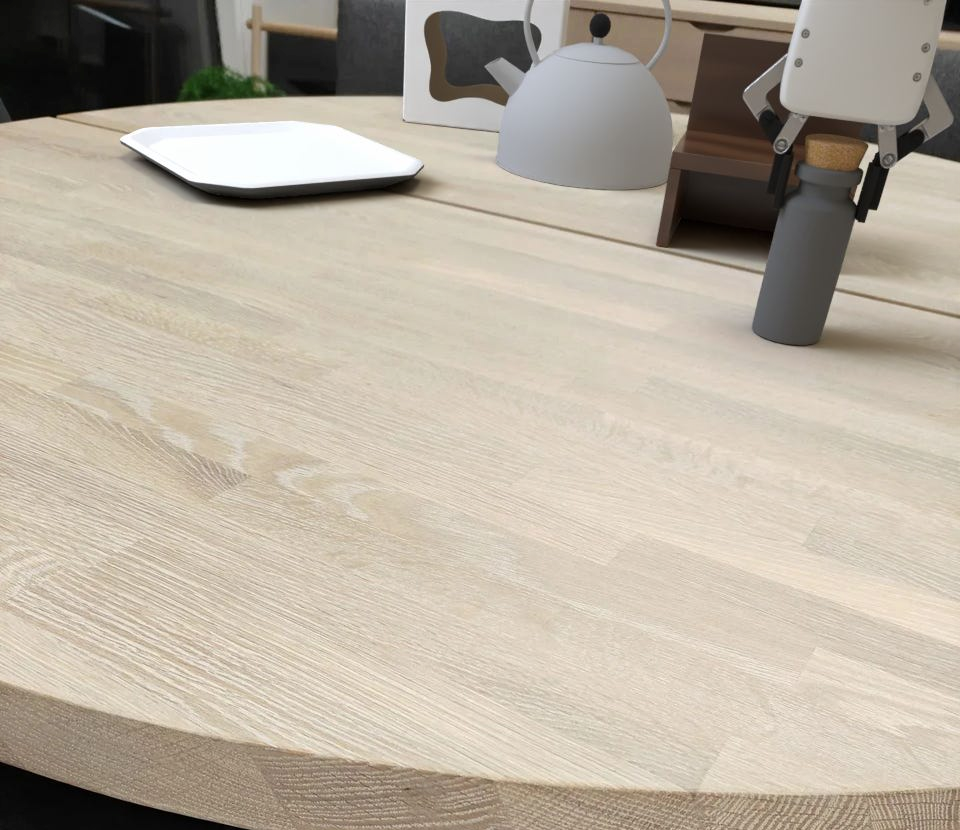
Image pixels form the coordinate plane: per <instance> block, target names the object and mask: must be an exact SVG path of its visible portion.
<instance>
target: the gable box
mask: <svg viewBox="0 0 960 830" xmlns="http://www.w3.org/2000/svg"><path fill="white" fill-rule="evenodd" d="M526 3H527V0H405V19H404V20H405V21H404V22H405V24H404V53H403V55H404V57H403V63H404V64H403V91H402V93H403V96H402V97H403V98H402V99H403V100H402V121H403V122H404V123H411V124H420V125H429V126H437V127H447V128H457V129H465V130H475V131H484V132H493V133H499V132H500V126H501V121H502V117H503V114H504V110H505V107H506V105H507V102H508V99H509V97H510V96H509V94H508V93H507V92H506V91H505V90H504V89H503V87H502V86H501V85H496V84H492V83H491V84H490V83H481V84H480V83H479V84H473V85H466V86H455V85H452V84H450V83H449V82H448V81H447V79H446V68H447V63H448V47H447V43H446V40H445V36H444V33H443V29H442V24H441V14H442V12H457V13H462V14H465V15H469V16H473V17H476V18H479V19H483V20H487V21H491V22H507V21H509V22H511V21H521V22H524V12H525V7H526ZM570 8H571V0H534V2H533V5H532V10H531V16H530V24H532V25H534V26H535V27H537V28H538V30H539V32H540V34H541V40H540V44H539V47H538V49H537V51H536V52H537V54H538V57H539V60H540V61H541V60H542V59H543V58H545V57H547V56H548V55H550V54H552V53H554V51H556V50H558V49H560V48H562V47H565V46H566V43H567V34H568V25H569V17H570ZM533 66H534V63H533V62H532V63H531V65H530V68H529V70H530V69H531V68H532V67H533Z"/></svg>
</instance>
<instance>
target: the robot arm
mask: <svg viewBox="0 0 960 830" xmlns="http://www.w3.org/2000/svg"><path fill="white" fill-rule="evenodd" d="M946 5H947V0H801V3H800V6H799V10H798V13H797V17H796V20H795V24H794V28H793V32H792V35H791V38H790V41H789V42H790V45H789V49H788V53H787V54H785V55H784V56H783V57H782V58H781V59H779V60H778V61H777V62H776V63H775V64H774V65H772V66H771V67H770V68H769V69H768V70H766V71H765V72H764V73H763V74H762V75H761V76H759V77H758V78H757V79H756V80H755V81H754V82H752V83H751V84H750V85H749V86H748V87H747V88H746V89H745V90H744V93H743V99H744V101H745V102H746V104H747V106H748V107H749V109H750V110H751V112H752V113H753V115H754V116H755V117H756V119H757V120H758V122H759V124H760V126H761V128H762V129H763V131H764V133H765V134H766V136H767V137H768V139H769V141H770V142H771V144H772V146H773V148H774V150H775V152H776V153H775V157H774V161H773V166H772V170H771V174H770V178H769V183H768V187H767V191H766V195H771V196H774V200H773V204H772V210H778V209H781V207H782V203H783V199H784V195H785V191H786V187H787V183H788V179H789V175H790V170H791V166H792V162H793V158H794V151H792V150H793V146H794V142H793V141H794V139H795V138H796V136H797V135H798V133H799V131H800V130H801V128H802V127H803V125H804V123H805V122H806V120H807V119H808V117H809V115H810V116H817V117H824V118H832V119H839V120H847V121H855V122H863V123H865V124H870V125H876V134H877V152H876V153H874V156H873V159H871V161H869V162H868V165H867V168H866V172H865V175H864V177H863V178H864V179H863V182H862V185H861V188H860V193H859V195H858V196H859V197H858V199H857V202H856V205H857V208H858V209H857V214H856V217H855V221H857V223H860V224H865V223H866V221H867V217H868V215H869V211H875V212H876V211H878V209H879V207H880V202H881V199H882V197H883V193H884V189H885V187H886V182H887V179H888V177H889V173H890V169H891V168H893V167H895V165H896V164H897V163H898V162H899V161H901V160H902V159H903V158H905V157H907V156H908V155H910V154H911V153H912V152H915V150H917V149H919V148H920V147H921V146H922V145H924V143H926V142H927V141H929V140H931V139H933V138H934V137H935V136H937V135H938V134H940V133H941V132H943V131H944V130H946V129H948V128H949V127H951V125H952V124H953V122H954V119H955V117H954V115H953V112H952V110H951V108H950V107H949V105H948V103H947V100H946V98H945V97H944V94H943V92H942V91H941V89H940V87H939V85H938V82H937V81H936V79H935V77H934V74H933V73H932V67H933V64H934V59H935V55H936V51H937V48H938V44H939V39H940V35H941V31H942V26H943V22H944V16H945V10H946ZM779 82H781V86H780V102H781V104H782V105H783V106H784V107H785V108H786V109H788V110H790V111H791V112H790V113H789V115H788V117H787V118H786V120H785V122H784V123H783V124H782V122H781V120H780V119H779V117H778V115H777V114H776V112H775V111H774V109H773V108H772V107H771V105H770V104H769V102H768V100H767V98H766V94H767V93H768V92H769V91H770V90H771V89H772V88H773V87H775V86H776V85H777V84H778V83H779ZM922 102H923V103H924V105H925V107H926V109H927V111H928V113H927V116H926V117H925V118H924V120H922V121H921V122H920V123H918V124H916V125H915V126H912V127H911V128H909V129H908V130H906V131H905V132H904V133H902V134H901V135H899V136H897V126H901V125H905V124H907V123H910V122H912V121H913V120H914V119H915V118H916V116H917V114H918V112H919V110H920V108H921V105H922Z"/></svg>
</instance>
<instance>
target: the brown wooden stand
mask: <svg viewBox="0 0 960 830" xmlns="http://www.w3.org/2000/svg"><path fill="white" fill-rule="evenodd" d="M702 37H703V38H702V43H701V49H700V54H699V60H698V65H697V70H696V75H695V81H694V86H693V92H692V98H691V104H690V109H689V116H688V120H687V125H686V130H685V131H684V133H683V135H682V136H681V138H680V139H679V141H678V142H677V144H676V145H675V147H674V148H673V149H672V157H671V162H670V168H669V174H668V179H667V182H666V186H665V191H664V197H663V202H662V203H663V204H662V209H661V214H660V220H659V226H658V231H657V236H656V241H655V245H656V246H657V247H663V248H668V246H669V244H670V242H671V240H672V238H673V237H674V234H675V232H676V230H677V227H678V226H679V223H680V222H681V219H682V220H689V221H697V222H703V223H709V224H717V225H722V226H731V227H737V228H744V229H750V230H756V231H762V232H769V233H770V232H771V233H774V232H775V228H776V224H777V220H778V216H779V212H780V209H778V210H772V204H773V200H774V196H771V195H766V191H767V187H768V183H769V178H770V174H771V170H772V166H773V161H774V157H775V153H776V152H775V150H774V148H773V146H772V144H771V142H770V141H769V139H768V137H767V136H766V134H765V133H764V131H763V129H762V128H761V126H760V124H759V122H758V120H757V119H756V117H755V116H754V115H753V113H752V112H751V110H750V109H749V107H748V106H747V104H746V102H745V101H744V99H743V93H744V90H745V89H746V88H747V87H748V86H749V85H750V84H751V83H752V82H754V81H755V80H756V79H757V78H758V77H759V76H761V75H762V74H763V73H764V72H765V71H766V70H768V69H769V68H770V67H771V66H772V65H774V64H775V63H776V62H777V61H778V60H779V59H781V58H782V57H783V56H784V55H785V54H787V53H788V49H789V45H790V42H791V41H786V40H785V41H784V40H777V39H768V38H759V37H750V36H743V35H735V34H734V35H733V34H726V33H719V32H717V33H716V32H709V31H705V32H704V33H703V36H702ZM780 86H781V82H779V83H778V84H777V85H776V86H775V87H773V88H772V89H771V90H770V91H769V92H768V93H767V94H766V98H767V100H768V102H769V104H770V105H771V107H772V108H773V109H774V111H775V112H776V114H777V115H778V117H779V119H780V120H781V122H782V124H783V123H784V122H785V120H786V118H787V117H788V115H789V113H790V112H791V111H790V110H788V109H786V108H785V107H784V106H783V105H782V104H781V102H780ZM865 124H866V123H863V122H855V121H847V120H839V119H832V118H824V117H817V116H810V115H809V117H808V119H807V120H806V122H805V123H804V125H803V127H802V128H801V130H800V131H799V133H798V135H797V136H796V138H795V139H794V141H793V142H794V146H793V150H792V151H794V158H793V162H792V166H791V170H790V175H789V179H788V183H787V187H786V191H785V195H786V194H788V193H789V192H791V191H793V190H796V189H797V188H798V186H799V181H800V179H799V178H798V177H796V176H795V175H794V171H795V167H796V163H797V162H798V161H799V160H802V159H804V154H805V138H806V136H808V135H811V134H829V135H838V136H845V137H849V138H854V139H858V140H862V135H863V132H864V129H865ZM858 186H859V185H857V186H853V187H852V188H851V191H850V195H849V197H850V198H851V199H852V200H853V201H855V197H856V194H857V193H856V192H857V189H858ZM785 195H784V196H785Z"/></svg>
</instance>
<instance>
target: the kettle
mask: <svg viewBox="0 0 960 830" xmlns="http://www.w3.org/2000/svg"><path fill="white" fill-rule="evenodd" d="M533 2H534V0H527V3H526V7H525V12H524V21H523V34H524V37H525V42H526V45H527V46H526V47H527V49H528V52H529V55H530V58H531V60H532V63H534V66H533V67H532V68H531V67H530V68H531V69H530V68H529V69H528V70H527V71H526V72H524V71H522V70H521V69H520V68H518V67H517V66H515V65H514V64H512V63H511V62H510V61H508V60H506V59H505V58H504V57H498V58H496V59H494V60H492V61H490V62H488V63H487V64H486V65H484V68H485V69H486V70H487V72H489V74H490V75H491V76H492V77H493V78H494V80H495V81H496V82H497V83H498V85H499V86H501V87H503V89H504V90H505V91H506V92H507V93H508V94H509V96H510V97H509V99H508V102H507V105H506V107H505V110H504V114H503V117H502V121H501V126H500V132H498V139H497V151H496V156H495V162H496V164H497V165H498V166H499V167H500V168H502V169H503V170H505V171H507V172H509V173H511V174H514V175H517V176H519V177H523V178H526V179H530V180H533V181H537V182H542V183H547V184H552V185H559V186H562V187H563V186H564V187H571V188H579V189H591V190H609V191H621V190H623V191H625V190H641V189H649V188H650V189H651V188H654V187H659V186H661V185H664V184H665V183H667V179H668V174H669V168H670V162H671V157H672V152H673V149H674V147H673V146H674V127H673V120H672V114H671V110H670V106H669V103H668V100H667V98H666V95H665V92H664V91H663V89H662V87H661V86H660V84H659V82H658V81H657V80H656V77H655V76H654V75H653V74H652V73H651V71H652V70H653V68H655V67H656V65H657V64H658V63H659V62H660V60H661V59H662V57H663V56H664V54H665V52H666V50H667V48H668V46H669V43H670V40H671V35H672V27H673V14H672V13H673V12H672V6H671V1H670V0H661V3H662V5H663V9H664V17H665V18H664V19H665V20H664V21H665V26H664V34H663V38H662V41H661V43H660V45H659V47H658V49H657V51H656V53H655V54H654V56H653V57H652V58H651V60H650V61H649V62H648V63H647V64H646V65H644V64H643V63H642V62H641V61H640V60H639V58H637V57H636V56H635V55H633V53H631V52H628V51H626V50H624V49H622V48H619V47H617V46H615V45H613V44H607V43H604V38H606V37H607V36H608V35H609V34H610V32H611V28H612V21H611V19H610V17H609V16H608V15H607V14H606V13H603V12H599V13H596V14H594V15H593V16H592V18H591V19H590V20H589V21H590V22H589V32H590V34H591V35H592V36H593V42H579V43H575V44H570V45H565V47H562V48H560V49H558V50H556V51H554V53H552V54H550V55H548V56H547V57H545V58H543V59H542V60H541V61H540V60H539V57H538V54H537V52H538V51H537V49H536V46H535V43H534V39H533V35H532V29H531V23H530V16H531V10H532V5H533Z"/></svg>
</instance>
